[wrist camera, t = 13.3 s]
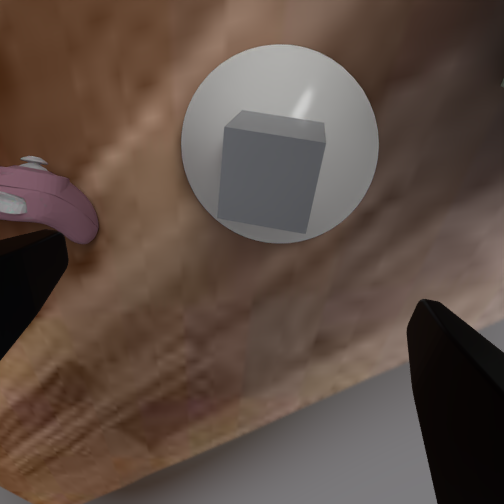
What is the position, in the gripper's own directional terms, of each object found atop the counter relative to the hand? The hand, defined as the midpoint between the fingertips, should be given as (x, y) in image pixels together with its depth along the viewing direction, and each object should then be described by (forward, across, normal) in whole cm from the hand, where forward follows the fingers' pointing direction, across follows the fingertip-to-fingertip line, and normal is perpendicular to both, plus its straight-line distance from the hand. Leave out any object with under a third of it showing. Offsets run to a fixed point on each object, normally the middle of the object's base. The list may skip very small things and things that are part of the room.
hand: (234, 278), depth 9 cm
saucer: (+12, 0, 0) cm, 12 cm away
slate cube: (+11, 0, 0) cm, 11 cm away
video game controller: (+12, +15, +4) cm, 20 cm away
